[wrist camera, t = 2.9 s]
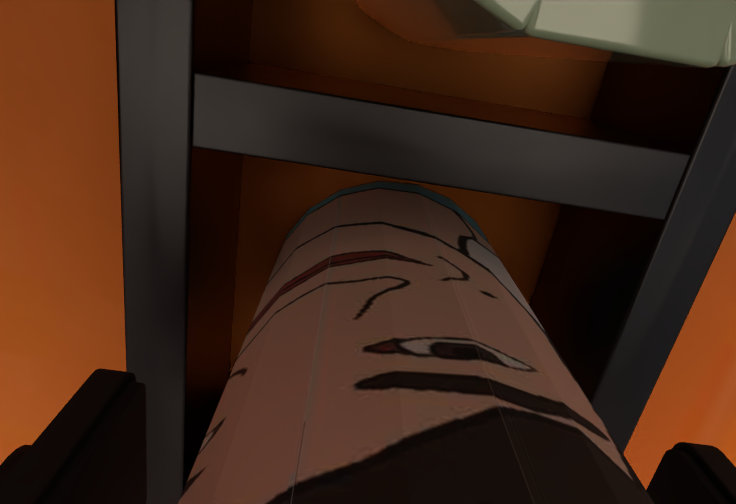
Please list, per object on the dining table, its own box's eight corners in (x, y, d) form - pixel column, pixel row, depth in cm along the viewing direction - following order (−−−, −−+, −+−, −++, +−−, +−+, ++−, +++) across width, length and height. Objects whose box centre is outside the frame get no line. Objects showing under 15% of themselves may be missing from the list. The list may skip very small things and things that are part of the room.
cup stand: (188, 416, 17) (130, 537, 13) (213, -581, 9) (72, -1163, 4) (517, 455, 18) (564, 582, 14) (834, -423, 9) (1209, -796, 5)
